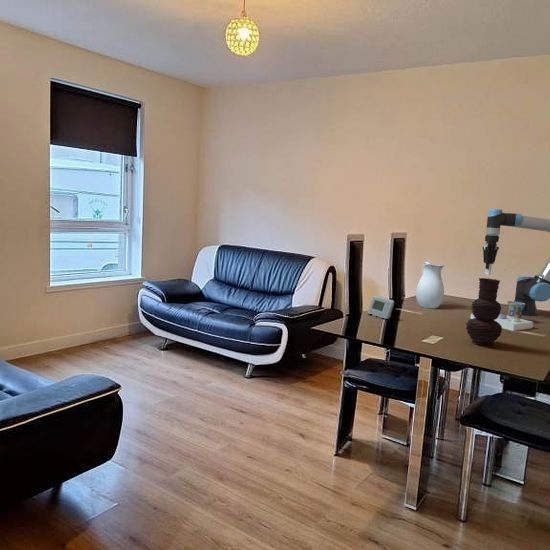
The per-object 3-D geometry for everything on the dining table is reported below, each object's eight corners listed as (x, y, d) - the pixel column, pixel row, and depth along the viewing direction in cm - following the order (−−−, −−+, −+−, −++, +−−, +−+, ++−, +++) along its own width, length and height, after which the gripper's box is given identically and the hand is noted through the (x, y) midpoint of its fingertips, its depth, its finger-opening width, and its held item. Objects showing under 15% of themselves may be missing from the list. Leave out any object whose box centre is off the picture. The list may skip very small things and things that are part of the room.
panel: (489, 317, 288) (490, 311, 288) (532, 328, 267) (533, 321, 266) (470, 319, 279) (470, 313, 278) (513, 330, 257) (514, 324, 256)
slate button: (499, 321, 276) (500, 314, 275) (507, 323, 272) (508, 316, 271) (494, 322, 273) (495, 314, 273) (502, 324, 269) (503, 316, 269)
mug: (520, 323, 277) (523, 305, 276) (503, 320, 283) (505, 302, 281) (525, 320, 287) (527, 302, 285) (508, 317, 292) (510, 300, 291)
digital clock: (365, 313, 277) (367, 295, 276) (379, 313, 280) (381, 295, 279) (381, 320, 262) (383, 301, 261) (395, 320, 266) (397, 301, 264)
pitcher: (446, 310, 303) (451, 265, 299) (418, 308, 303) (423, 263, 299) (434, 302, 326) (438, 261, 323) (408, 301, 326) (413, 259, 323)
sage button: (512, 324, 269) (513, 317, 269) (521, 327, 265) (522, 319, 265) (507, 325, 267) (508, 318, 266) (515, 327, 263) (516, 320, 262)
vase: (482, 349, 217) (490, 282, 212) (456, 339, 230) (464, 276, 226) (507, 347, 223) (516, 282, 219) (481, 338, 237) (488, 276, 233)
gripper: (493, 234, 298) (488, 273, 301) (479, 234, 291) (475, 273, 294) (504, 235, 291) (499, 275, 295) (491, 235, 284) (486, 275, 288)
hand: (487, 274), depth 294 cm, fingers closed
